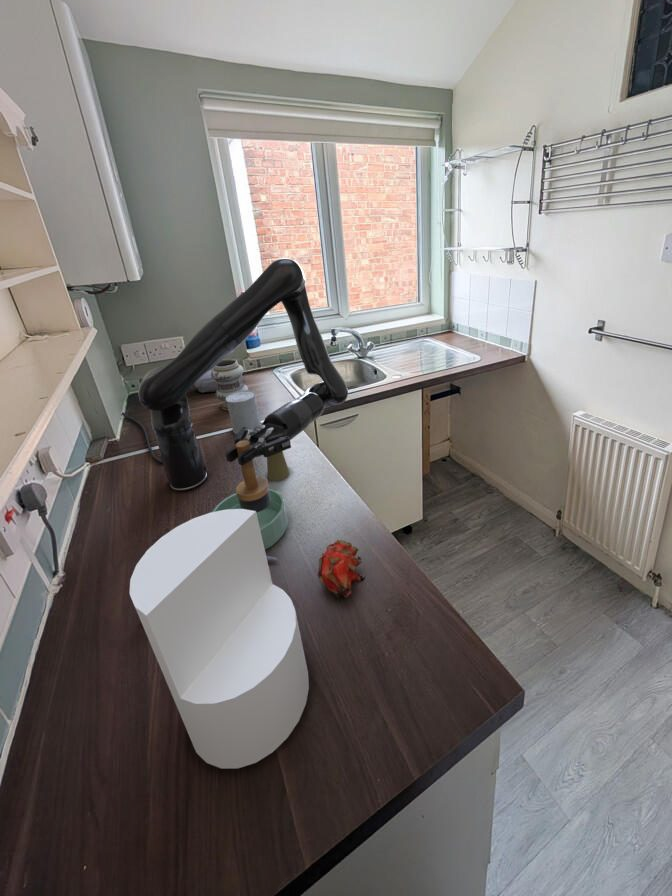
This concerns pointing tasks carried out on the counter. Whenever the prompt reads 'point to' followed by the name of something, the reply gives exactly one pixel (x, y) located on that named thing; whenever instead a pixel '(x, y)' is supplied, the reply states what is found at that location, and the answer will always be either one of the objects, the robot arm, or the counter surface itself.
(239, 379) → the apothecary jar
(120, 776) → the counter surface
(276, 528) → the bowl
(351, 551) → the dragon fruit
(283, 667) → the stepped white drum
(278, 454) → the olive green tapered cone
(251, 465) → the dish brush
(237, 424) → the white canister
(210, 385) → the grey rounded bag
